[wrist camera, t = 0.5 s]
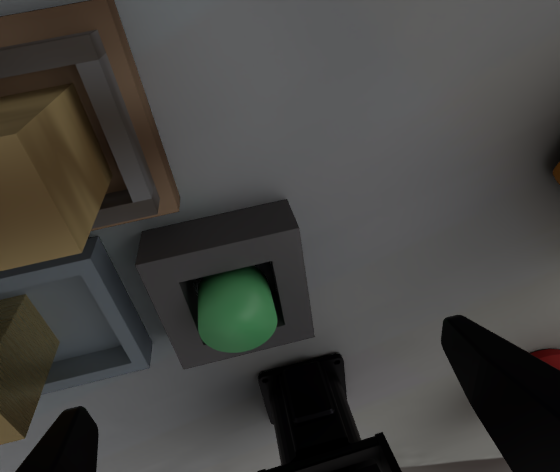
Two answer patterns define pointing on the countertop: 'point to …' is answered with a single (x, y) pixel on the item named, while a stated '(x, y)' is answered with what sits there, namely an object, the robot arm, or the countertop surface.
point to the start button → (236, 310)
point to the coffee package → (557, 173)
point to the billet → (22, 364)
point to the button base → (221, 258)
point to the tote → (83, 316)
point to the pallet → (73, 133)
